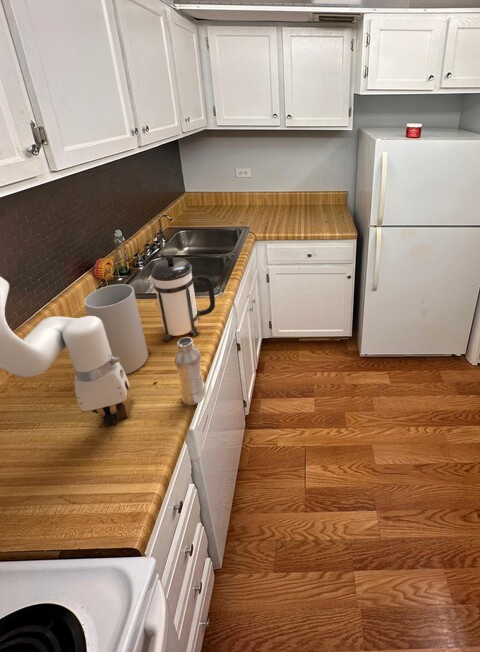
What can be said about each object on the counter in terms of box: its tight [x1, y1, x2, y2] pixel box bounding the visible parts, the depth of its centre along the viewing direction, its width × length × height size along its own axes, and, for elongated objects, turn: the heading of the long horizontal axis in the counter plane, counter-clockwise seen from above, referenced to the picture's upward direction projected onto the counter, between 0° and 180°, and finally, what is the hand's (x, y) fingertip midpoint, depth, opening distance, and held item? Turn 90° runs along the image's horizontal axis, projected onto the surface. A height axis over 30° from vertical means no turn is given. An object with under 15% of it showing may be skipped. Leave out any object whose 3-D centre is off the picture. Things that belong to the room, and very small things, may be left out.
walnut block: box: [118, 389, 132, 421], centre depth 88 cm, size 5×5×5 cm
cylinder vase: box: [83, 283, 149, 375], centre depth 101 cm, size 12×12×25 cm
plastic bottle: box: [174, 336, 207, 406], centre depth 89 cm, size 6×7×20 cm
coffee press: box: [147, 254, 216, 342], centre depth 116 cm, size 17×16×30 cm
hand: (113, 421), depth 85 cm, fingers closed
